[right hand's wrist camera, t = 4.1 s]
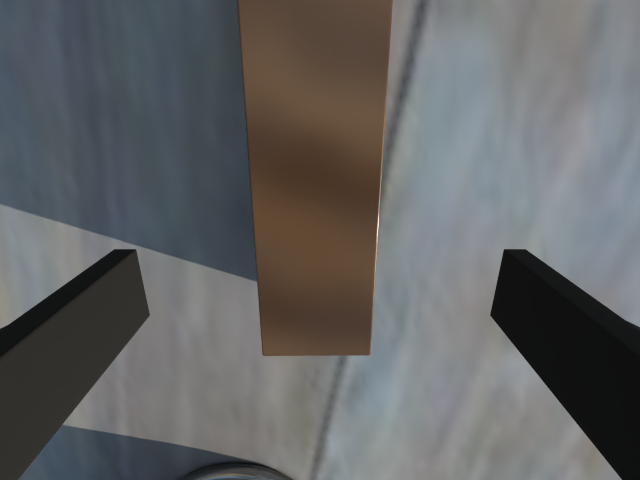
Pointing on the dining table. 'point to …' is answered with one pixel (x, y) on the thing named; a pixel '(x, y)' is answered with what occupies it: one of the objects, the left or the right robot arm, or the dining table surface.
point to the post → (315, 167)
